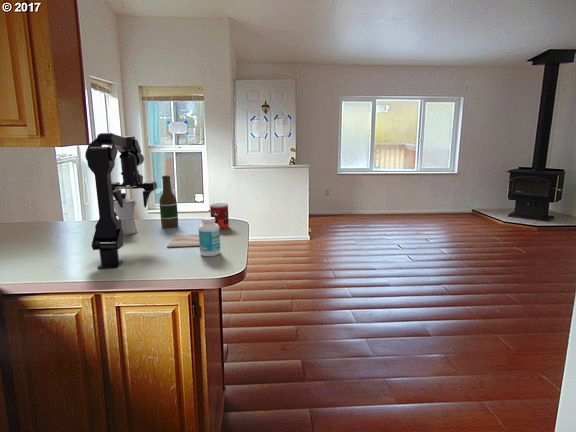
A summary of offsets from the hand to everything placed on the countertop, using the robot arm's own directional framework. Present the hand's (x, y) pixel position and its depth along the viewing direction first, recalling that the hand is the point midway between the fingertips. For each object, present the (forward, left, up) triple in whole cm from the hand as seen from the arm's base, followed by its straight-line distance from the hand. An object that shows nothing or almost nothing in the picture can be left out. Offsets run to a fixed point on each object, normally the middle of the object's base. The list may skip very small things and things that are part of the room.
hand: (133, 207), depth 161 cm
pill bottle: (-20, -31, -15) cm, 40 cm away
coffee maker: (+17, +10, -15) cm, 24 cm away
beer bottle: (+26, -8, -15) cm, 31 cm away
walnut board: (-2, -20, -15) cm, 25 cm away
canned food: (+19, -32, -15) cm, 40 cm away
